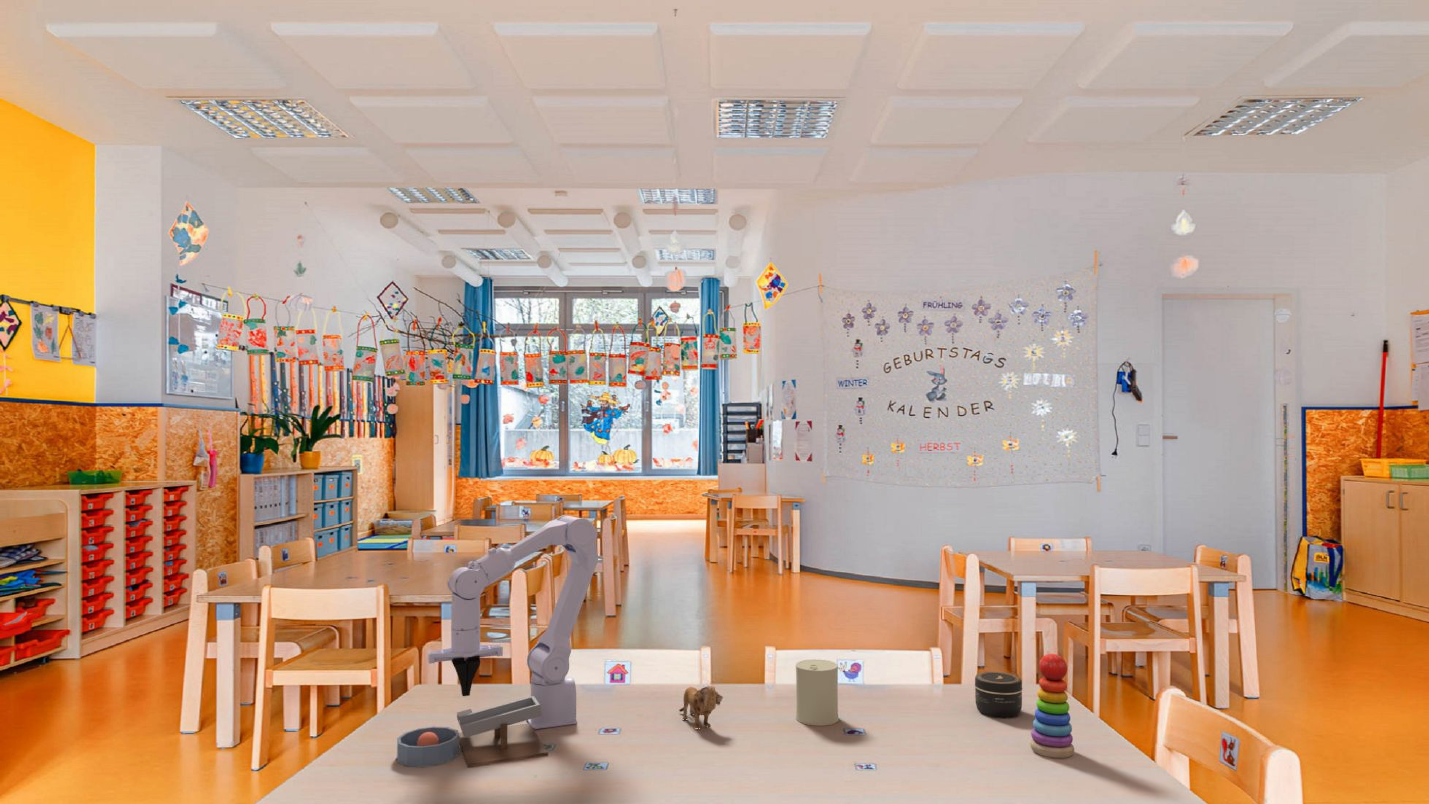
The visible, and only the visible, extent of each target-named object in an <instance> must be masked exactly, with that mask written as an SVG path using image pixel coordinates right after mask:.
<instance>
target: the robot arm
mask: <svg viewBox="0 0 1429 804" xmlns="http://www.w3.org/2000/svg"><path fill="white" fill-rule="evenodd" d="M598 535H599V534H598V532H597V529H596V528H595V526H594V525H593V523H592V521H591V520H589V519H587V518H585V517H577V516H573V515H569V514H563V515H560V516H559V517H558V518H556V519H552V520H550V521H548V522H547V523H546V524H544V525H543V526H542V527H540V528H539V529H537V530H535V531H533V532H532V533H531V534H529V535H528V536H526V537H524V538H523V539H521V540H519V541H518V542H516V543H515V544H514V545H512V546H511V547H509V548H504V547H497V548H495V547H491V548H489V549H488V553H487V554H485V555H483V556H482V557H480V558H478V559H477V560H475V561H474V560H470V561H469V562H467V565H468V566H465V567H458V568H456V569H455V570H453V572H451V574H450V576H449V579H448V581H447V582H446V583H447V587H448V589H449V591H450V592H451V605H450V606H451V607H450V610H451V612H450V613H451V614H450V615H451V616H450V619H451V621H450V624H451V625H450V628H451V630H450V632H451V634H450V635H451V636H450V638H451V639H450V641H451V644H450V645H451V646H450V648H445V649H440V650H439V649H438V650H433V651H428V652H427V658H428V659H427V662H428V665H429V664H435V663H439V662H440V663H441V662H447V661H448V662H450V661H451V664H452V666H453V668H454V669H455V671H456V674H457V678H458V680H459V685H460V689H461V695H462V697H469V696H471V691H472V685H473V681H474V680H475V677H476V674H477V672H478V670H479V667H480V664H481V658H486V657H487V658H489V657H495V656H496V657H503V653H504V652H503V650H504V649H503V645H502V644H488V645H487V644H486V645H485V644H484V645H482V644H481V594H482V593H483V592H484V589H485V588H486V587H488V586H490V585H492V584H494V583H495V582H496V581H498V580H500V579H502V578H503V577H505V576H507V575H509V574H510V573H513V571H514V570H515V566H516V564H517V562H519V561H521V560H523V559H525V558H526V557H528V556H531V555H532V554H534V553H537V552H538V551H539V550H542V549H544V548H546V547H547V546H561V547H563V548H564V549H565V551H566V553H567V555H568V556H569V558H570V560H571V563H570V566H569V569H568V572H567V574H566V577H565V579H564V582H563V585H562V588H561V590H560V593H559V595H558V599H557V602H556V603H555V606H554V609H553V611H552V615H551V617H550V620H549V622H548V624H547V628H546V630H545V631H544V632H543V633H542V634H541V635H540V636H539V637H538V639H537V642H536V644H535V645H534V646H533V647H532V648H531V649H530V651H529V652H528V654H527V657H526V665H527V667H528V670H529V671H531V672H532V673H531V677H530V697H531V696H534V697H535V698H536V700H537V701H538V703H539V704H540V709H541V715H542V716H539V717H536V718H532V719H529V720H526V721H527V724H528V723H530V724H531V726H532V727H533V729H534V730H538V729H539V730H540V729H545V728H546V729H547V728H552V727H561V726H567V725H568V726H570V725H574V724H575V725H576V724H578V721H577V687H576V686H577V685H576V681H575V679H574V678H573V677H566V676H567V675H568V673H569V670H570V657H571V653H572V646H571V641H570V639H571V636H572V633H573V630H574V627H575V625H576V622H577V620H578V617H579V614H580V611H581V608H582V606H583V603H584V601H585V598H586V595H587V592H588V590H589V587H590V584H591V581H592V578H593V576H594V573H595V570H596V568H597V565H598V562H599V557H598V556H599V555H598V546H597V538H598Z"/></svg>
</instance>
